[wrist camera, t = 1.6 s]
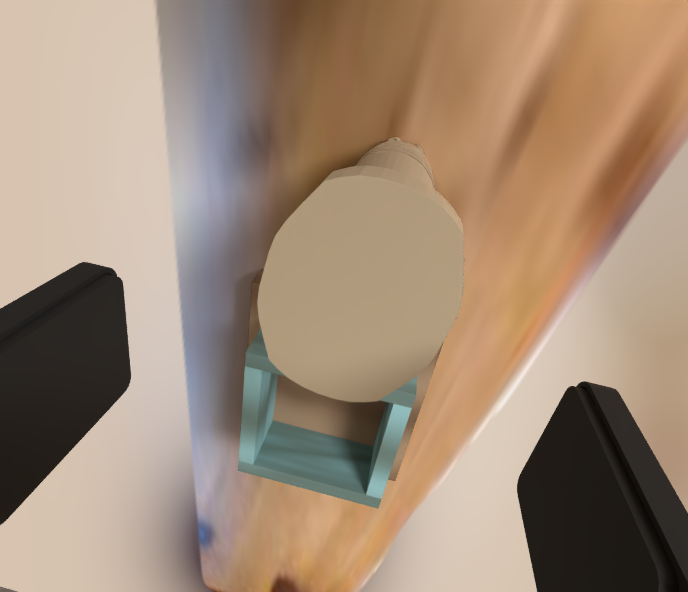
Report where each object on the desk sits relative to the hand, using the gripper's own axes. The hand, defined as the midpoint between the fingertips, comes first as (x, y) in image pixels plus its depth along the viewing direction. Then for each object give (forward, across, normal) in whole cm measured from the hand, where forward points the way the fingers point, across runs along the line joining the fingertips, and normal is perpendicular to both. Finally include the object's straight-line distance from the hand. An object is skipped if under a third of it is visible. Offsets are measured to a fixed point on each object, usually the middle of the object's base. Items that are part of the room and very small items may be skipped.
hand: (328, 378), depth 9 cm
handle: (+18, 0, -1) cm, 18 cm away
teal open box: (+18, +1, +14) cm, 23 cm away
